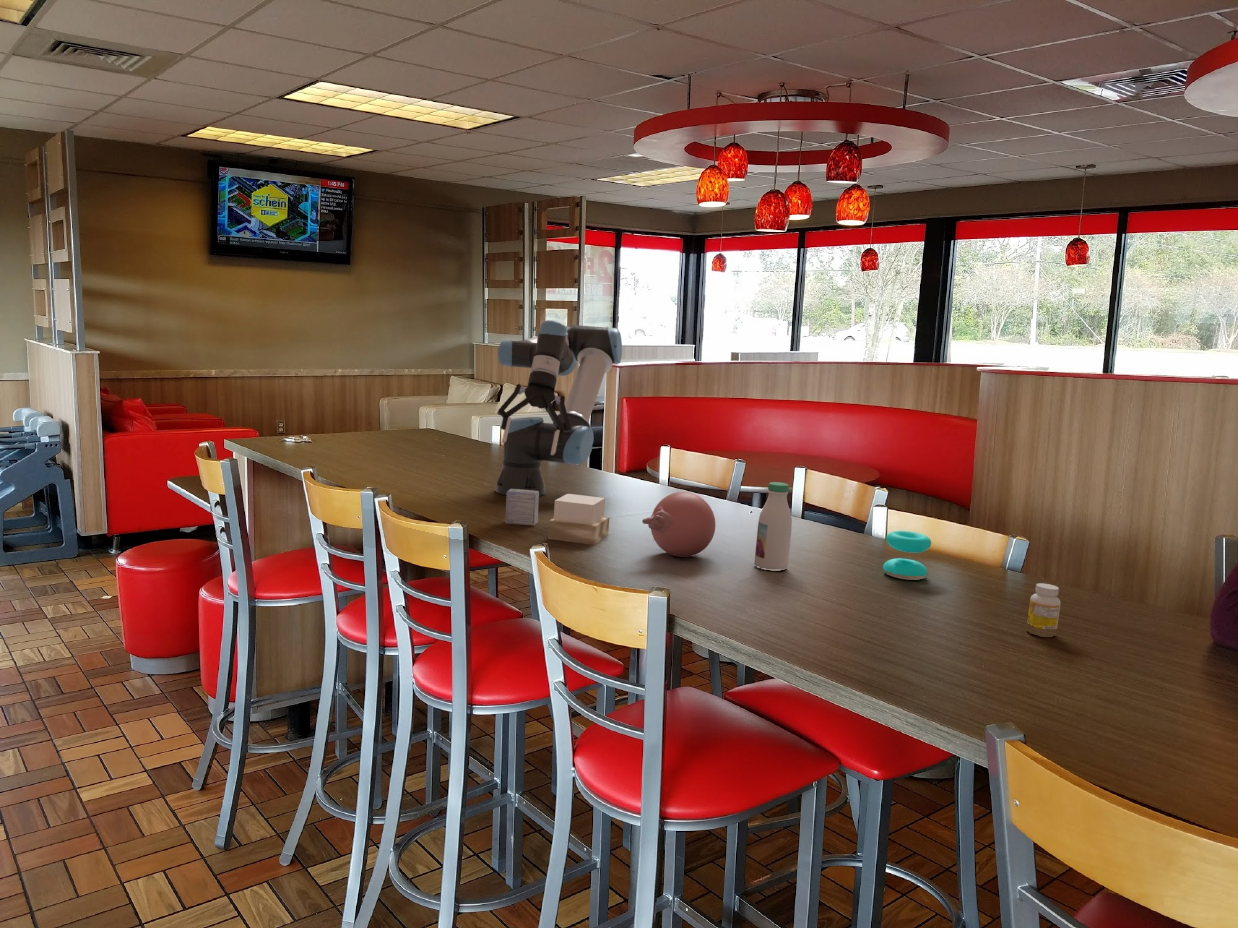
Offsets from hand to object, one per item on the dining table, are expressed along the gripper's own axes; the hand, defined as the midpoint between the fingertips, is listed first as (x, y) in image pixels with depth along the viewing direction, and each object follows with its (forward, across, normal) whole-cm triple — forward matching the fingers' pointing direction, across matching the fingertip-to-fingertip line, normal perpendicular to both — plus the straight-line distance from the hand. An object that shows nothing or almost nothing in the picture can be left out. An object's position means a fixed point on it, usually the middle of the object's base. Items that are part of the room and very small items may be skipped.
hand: (528, 447), depth 247 cm
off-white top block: (+19, +14, -15) cm, 28 cm away
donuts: (+22, +85, -50) cm, 101 cm away
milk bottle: (+26, +55, -42) cm, 74 cm away
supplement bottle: (+36, +93, -87) cm, 132 cm away
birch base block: (+24, +15, -13) cm, 31 cm away
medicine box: (+21, +2, 0) cm, 21 cm away
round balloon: (+26, +34, -32) cm, 54 cm away
